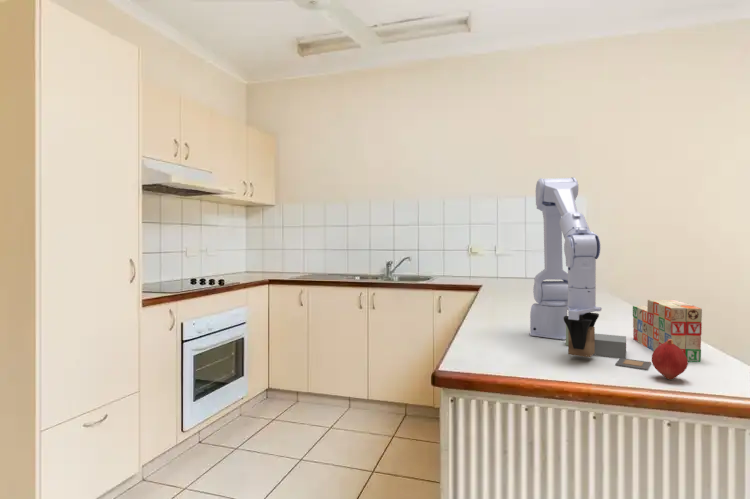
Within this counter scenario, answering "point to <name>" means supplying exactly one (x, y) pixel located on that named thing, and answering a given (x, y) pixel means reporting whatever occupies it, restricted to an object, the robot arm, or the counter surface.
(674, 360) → the onion
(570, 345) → the walnut block
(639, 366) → the card
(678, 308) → the stack of blocks
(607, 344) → the slate base block
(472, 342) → the counter surface
